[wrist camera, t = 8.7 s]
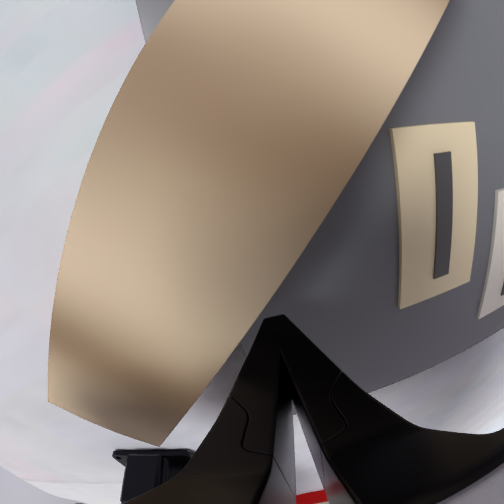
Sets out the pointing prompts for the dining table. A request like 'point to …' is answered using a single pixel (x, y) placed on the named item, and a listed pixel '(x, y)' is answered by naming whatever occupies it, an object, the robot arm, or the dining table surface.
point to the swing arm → (214, 191)
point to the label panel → (411, 217)
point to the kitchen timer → (312, 498)
